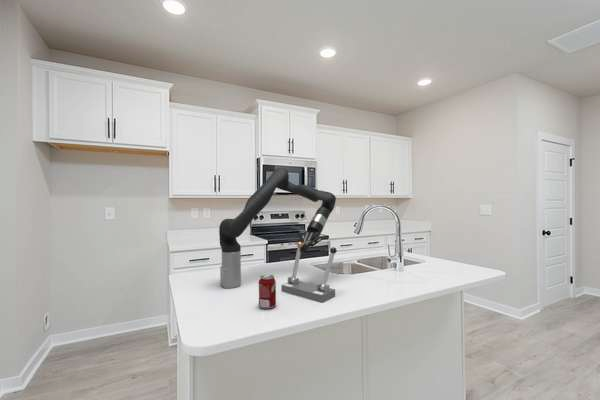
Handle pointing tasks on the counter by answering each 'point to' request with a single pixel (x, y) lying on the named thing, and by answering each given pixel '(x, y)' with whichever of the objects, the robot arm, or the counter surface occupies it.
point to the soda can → (267, 292)
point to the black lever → (328, 268)
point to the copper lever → (296, 262)
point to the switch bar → (308, 290)
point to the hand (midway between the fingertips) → (302, 252)
